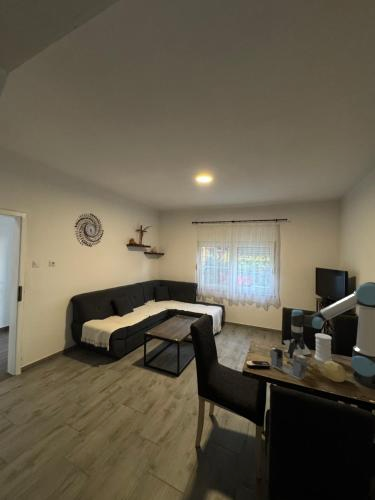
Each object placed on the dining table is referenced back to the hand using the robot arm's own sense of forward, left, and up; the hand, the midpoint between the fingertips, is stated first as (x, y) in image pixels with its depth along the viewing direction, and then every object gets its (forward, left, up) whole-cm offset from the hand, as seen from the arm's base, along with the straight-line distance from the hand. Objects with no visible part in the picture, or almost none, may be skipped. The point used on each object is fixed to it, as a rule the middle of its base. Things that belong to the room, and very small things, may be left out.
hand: (296, 360), depth 154 cm
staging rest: (0, 0, -4) cm, 4 cm away
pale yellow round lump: (-23, -4, -4) cm, 24 cm away
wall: (+10, -20, -4) cm, 23 cm away
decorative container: (-7, -27, -4) cm, 28 cm away
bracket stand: (0, +12, -4) cm, 13 cm away
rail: (0, 0, -1) cm, 1 cm away
